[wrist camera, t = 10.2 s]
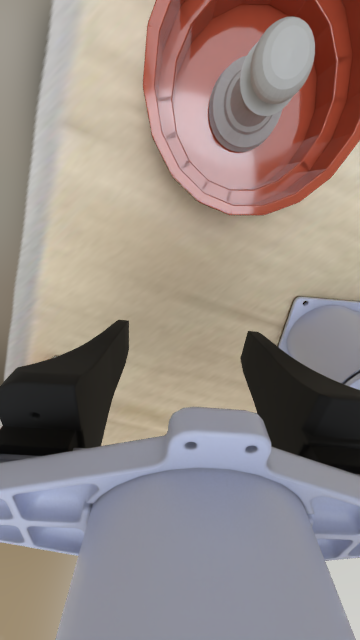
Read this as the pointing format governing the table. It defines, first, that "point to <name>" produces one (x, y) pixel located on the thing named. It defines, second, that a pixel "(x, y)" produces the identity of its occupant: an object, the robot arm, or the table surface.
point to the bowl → (296, 117)
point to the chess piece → (261, 85)
